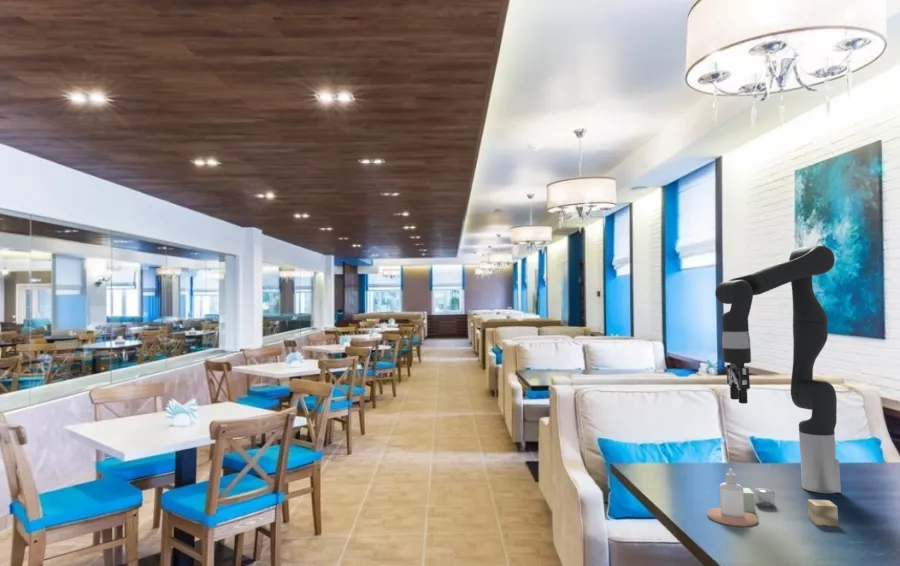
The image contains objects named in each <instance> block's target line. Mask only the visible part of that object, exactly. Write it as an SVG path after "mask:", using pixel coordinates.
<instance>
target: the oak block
mask: <svg viewBox="0 0 900 566" xmlns="http://www.w3.org/2000/svg"><path fill="white" fill-rule="evenodd" d="M838 511H839V510H838V505H836V504H835V503H834V502H832V501H830V500H829V499H828V500H827V499H812V498H811V499H809V498H807V513H808V519H809V520H810V521H811V522H812V523H813V524H814V525H815V526H822V525H827V527H838V526H839V515H838V513H839V512H838Z"/></svg>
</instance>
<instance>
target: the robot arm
mask: <svg viewBox="0 0 900 566" xmlns="http://www.w3.org/2000/svg"><path fill="white" fill-rule="evenodd" d="M835 260H836V259H835V254H834V252H833V251H832V250H831V248H829V247H828V246H825V245H812V246H811V245H809V246H805V247H804V246H803V247H799V248H796V249H794V250H792V252H791V253H790V255H789V258H788V261H784V262H780V263H776V264H773V265H768V266H766V267H763V268H760V269H757V270H755V271H752V272H750V273H748V274H745V275H743V276H737V277H734V278H731V279H727V280H724V281H722V282H720V283H719V284H718V285H717V287H716V289H715V298H716V299H717V300H718V301H719V302H720V303H722V304H725V305H731V306H730V309H729V310H728V311H727V312H726V311H725V312H724V313H723V314H722V318H721V323H722V324H721V325H722V327H721V328H722V337H721V342H722V344H721V345H722V361H723V363H727V364H726V383H727V385H728V387H729V395H730V396H729V397H730V399H731V400H738V403H739V404H742V405H743V404H748V391H749V390H750V389H751V383H750V382H751V381H750V369H749V367H746V366H745V364H750V363H751V362H752V354H751V353H752V352H751V351H752V350H751V348H752V347H751V336H750V331H749V328H750V327H749V315H750V312H751V307H752V304H753V298H754V296H758V295H761V294H764V293H767V292H770V291H772V290H774V289H776V288H779V287H781V286H783V285H786V284H789V283H790V286H791V293H792V294H791V295H792V337H793V347H792V348H793V355H792V356H793V357H792V359H793V360H792V370H791V371H792V372H791V381H790V396H791V397H790V398H791V400H792V403H793V404H794V405H795V406H796V407H797V408H800V409H805V410H810V411H811V416H810V418H809V419H807V420H801V421H799V423H798V435H799V456H800V457H799V458H800V474H801V488H802V489H803V490H806V491H808V492H809V491H810V492H813V493H818V494H829V495H830V494H837V493H839V494H841V493H842V491H841V490H842V488H841V474H840V473H841V472H840V471H841V470H840V460H839V459H837V456H836V455H837V454H836V453H837V452H836V450H837V449H836V438H835V437H836V435H835V429H836V426H837V418H838V417H837V411H838V410H837V403H838V402H837V401H838V400H837V393H836V392H837V391H836V390H835V387H834V386H833V385H832V384H831V383H830V382H827V381H824V380H818V379H817V380H814V379H813V378H814V375H813V374H814V373H813V372H814V366H815V365H814V364H815V362H816V360H817V358H818V357H819V355H820V353H821V352H822V350H823V348H824V347H825V345H826V343H827V340H828V337H829V335H828V334H829V333H828V316H827V313H826V311H825V310H824V308H823V306H822V304H821V303H820V302H819V299H818V298H817V296H816V294H815V293H814V289H813V287H814V286H813V276H820V275H824V274H826V273H828V272H830V271H831V270H832V269H833V267H834V265H835Z"/></svg>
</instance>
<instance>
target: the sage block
mask: <svg viewBox="0 0 900 566" xmlns="http://www.w3.org/2000/svg"><path fill="white" fill-rule="evenodd" d="M743 494H744V511H747V512H750V513H756V505H755V493H754V491H752V490H751V488H749V487H743Z"/></svg>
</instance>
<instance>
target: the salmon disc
mask: <svg viewBox="0 0 900 566" xmlns="http://www.w3.org/2000/svg"><path fill="white" fill-rule="evenodd" d="M706 514H707V518H709V519H710V520H712V521H713V522H715V523H718V524H721V525H726V526H730V525H731V526H732V527H740V528H741V527H744V528H746V527H753V526H756V525H758V523H759V517H758V516H757V515H755V514H754V513H753V512H749V511H744V514H745V515H744V517H730V516H725V515H722V514H721V508H720V507H712V508H710V509H708V510H707V513H706Z"/></svg>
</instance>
